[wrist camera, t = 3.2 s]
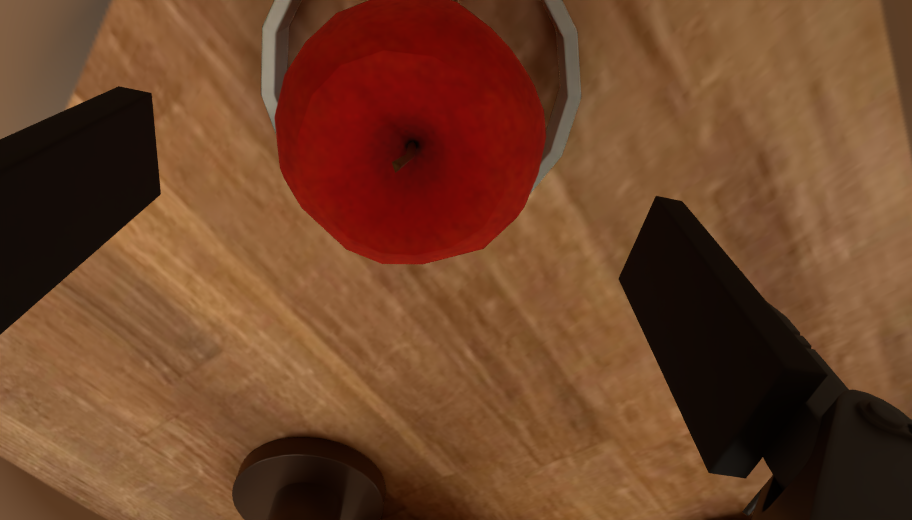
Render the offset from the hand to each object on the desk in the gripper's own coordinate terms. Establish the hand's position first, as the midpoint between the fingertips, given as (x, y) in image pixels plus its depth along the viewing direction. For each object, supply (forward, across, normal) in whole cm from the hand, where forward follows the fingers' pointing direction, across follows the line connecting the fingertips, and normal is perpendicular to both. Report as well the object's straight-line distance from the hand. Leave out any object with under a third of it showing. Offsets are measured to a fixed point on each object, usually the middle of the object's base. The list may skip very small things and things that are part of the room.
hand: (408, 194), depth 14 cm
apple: (+12, 0, 0) cm, 12 cm away
